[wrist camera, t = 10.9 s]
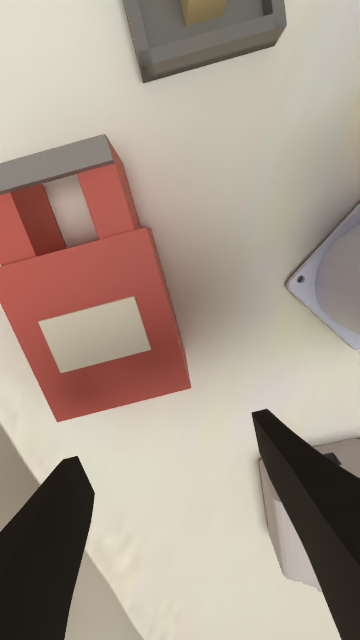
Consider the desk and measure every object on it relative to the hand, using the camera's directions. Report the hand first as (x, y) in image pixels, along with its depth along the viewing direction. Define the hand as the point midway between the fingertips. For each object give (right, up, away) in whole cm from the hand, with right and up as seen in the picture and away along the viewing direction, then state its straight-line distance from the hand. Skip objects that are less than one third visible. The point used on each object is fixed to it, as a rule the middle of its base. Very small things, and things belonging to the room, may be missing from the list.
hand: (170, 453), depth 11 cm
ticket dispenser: (-5, +8, +8) cm, 12 cm away
